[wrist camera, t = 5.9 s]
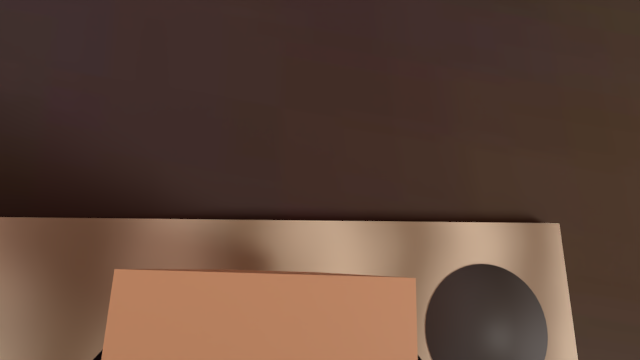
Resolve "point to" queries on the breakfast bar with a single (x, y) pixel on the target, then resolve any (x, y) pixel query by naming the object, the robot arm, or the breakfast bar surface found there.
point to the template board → (297, 256)
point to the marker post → (259, 316)
